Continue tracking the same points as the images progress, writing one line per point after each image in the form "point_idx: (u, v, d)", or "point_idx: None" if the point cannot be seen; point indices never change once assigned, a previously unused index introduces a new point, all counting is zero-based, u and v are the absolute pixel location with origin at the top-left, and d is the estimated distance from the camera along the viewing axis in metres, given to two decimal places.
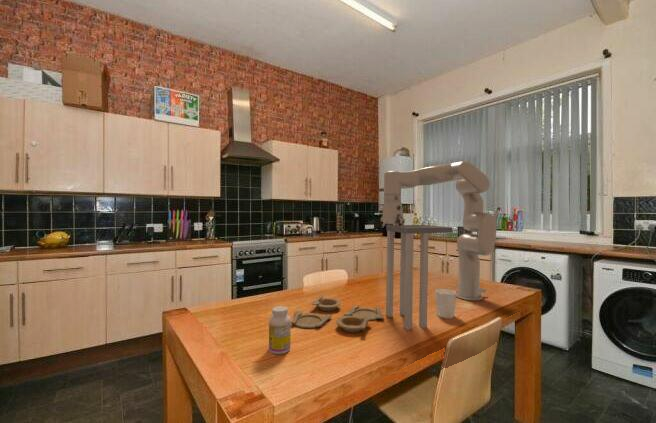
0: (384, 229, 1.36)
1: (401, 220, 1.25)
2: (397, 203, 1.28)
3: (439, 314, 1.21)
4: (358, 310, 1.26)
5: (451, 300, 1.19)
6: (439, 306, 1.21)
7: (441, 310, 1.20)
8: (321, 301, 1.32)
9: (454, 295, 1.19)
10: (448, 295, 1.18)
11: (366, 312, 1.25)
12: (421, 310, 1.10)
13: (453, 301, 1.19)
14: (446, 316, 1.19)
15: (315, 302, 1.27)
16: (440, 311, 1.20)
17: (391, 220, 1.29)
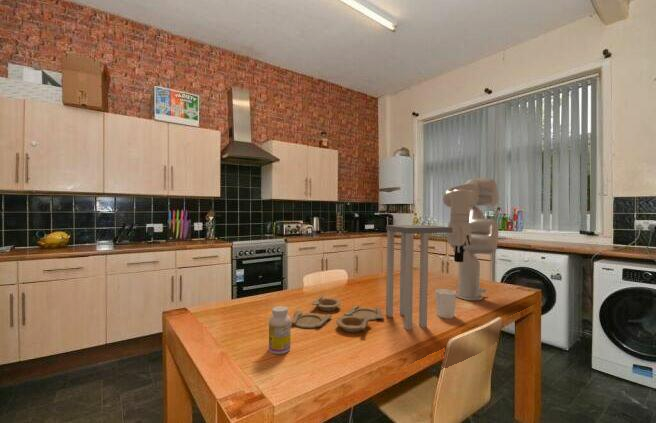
0: None
1: None
2: None
3: (439, 314, 1.21)
4: (358, 310, 1.26)
5: (451, 300, 1.19)
6: (439, 306, 1.21)
7: (441, 310, 1.20)
8: (321, 301, 1.32)
9: (454, 295, 1.19)
10: (448, 295, 1.18)
11: (366, 312, 1.25)
12: (421, 310, 1.10)
13: (453, 301, 1.19)
14: (446, 316, 1.19)
15: (315, 302, 1.27)
16: (440, 311, 1.20)
17: None
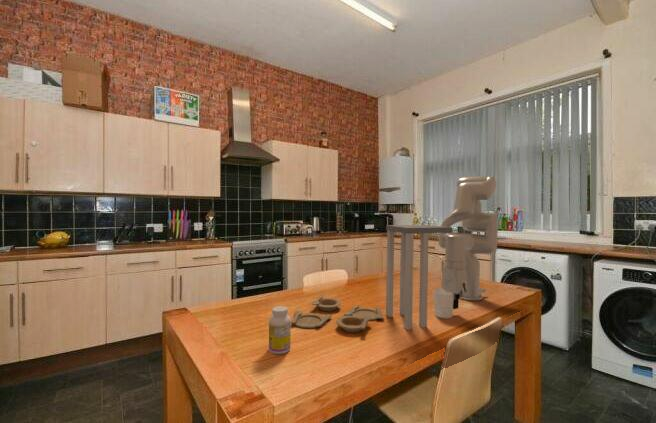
0: None
1: None
2: None
3: (437, 314, 1.21)
4: (358, 310, 1.26)
5: (449, 300, 1.18)
6: (437, 306, 1.20)
7: (439, 310, 1.20)
8: (321, 301, 1.32)
9: (452, 295, 1.19)
10: (446, 295, 1.18)
11: (366, 312, 1.25)
12: (421, 310, 1.10)
13: (451, 301, 1.19)
14: (444, 316, 1.19)
15: (315, 302, 1.27)
16: (438, 311, 1.20)
17: None
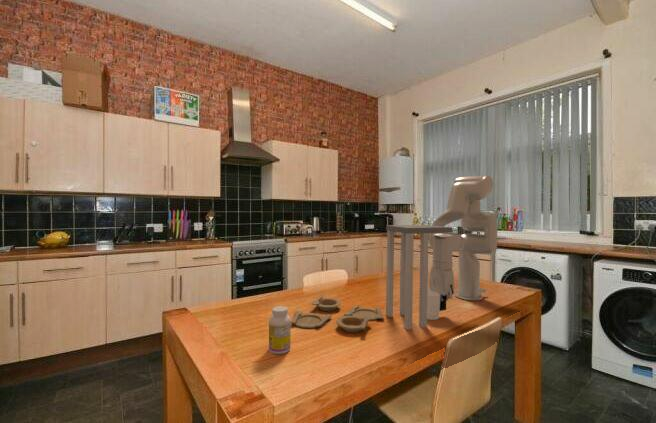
0: None
1: None
2: None
3: None
4: (358, 310, 1.26)
5: (434, 301, 1.17)
6: None
7: None
8: (321, 301, 1.32)
9: (438, 296, 1.17)
10: (431, 296, 1.16)
11: (366, 312, 1.25)
12: (421, 310, 1.10)
13: (437, 302, 1.17)
14: (429, 317, 1.17)
15: (315, 302, 1.27)
16: None
17: None
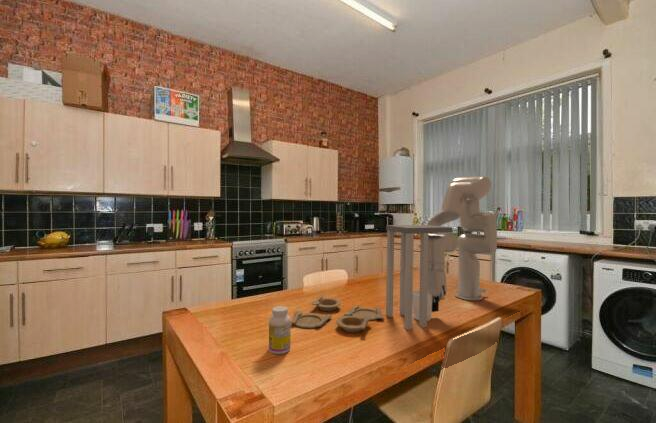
0: None
1: None
2: None
3: (415, 316, 1.18)
4: (358, 310, 1.26)
5: None
6: (415, 308, 1.18)
7: (416, 312, 1.17)
8: (321, 301, 1.32)
9: (430, 297, 1.16)
10: None
11: (366, 312, 1.25)
12: (421, 310, 1.10)
13: (428, 303, 1.16)
14: None
15: (315, 302, 1.27)
16: (416, 313, 1.18)
17: None
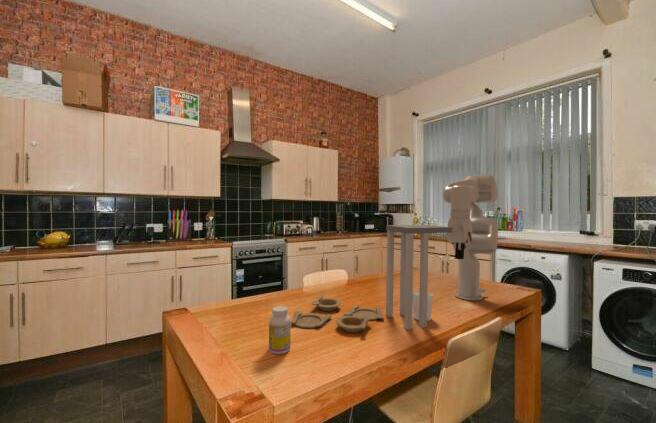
0: None
1: None
2: None
3: (415, 316, 1.18)
4: (358, 310, 1.26)
5: None
6: (415, 308, 1.18)
7: (416, 312, 1.17)
8: (321, 301, 1.32)
9: (430, 297, 1.16)
10: None
11: (366, 312, 1.25)
12: (421, 310, 1.10)
13: (429, 303, 1.16)
14: None
15: (315, 302, 1.27)
16: (416, 313, 1.18)
17: None
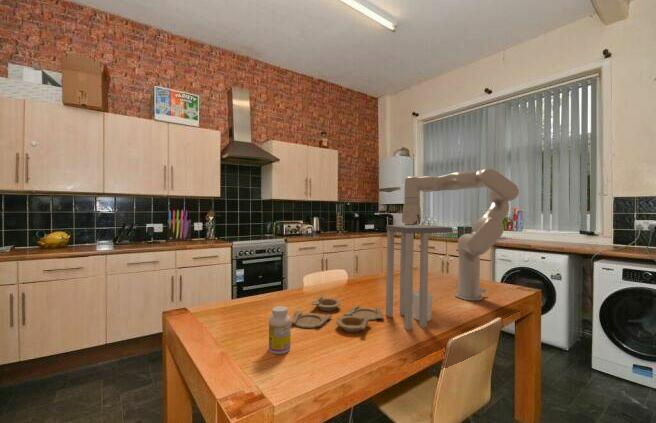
0: None
1: None
2: None
3: (415, 316, 1.18)
4: (358, 310, 1.26)
5: None
6: (415, 308, 1.18)
7: (416, 312, 1.17)
8: (321, 301, 1.32)
9: (430, 297, 1.16)
10: None
11: (366, 312, 1.25)
12: (421, 310, 1.10)
13: (429, 303, 1.16)
14: None
15: (315, 302, 1.27)
16: (416, 313, 1.18)
17: None
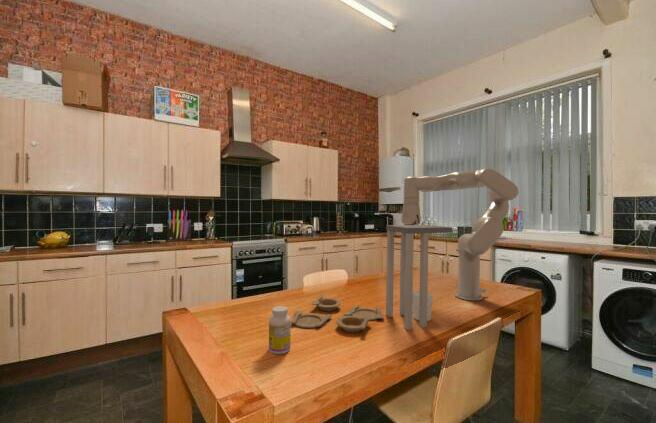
0: None
1: None
2: None
3: (415, 316, 1.18)
4: (358, 310, 1.26)
5: None
6: (415, 308, 1.18)
7: (416, 312, 1.17)
8: (321, 301, 1.32)
9: (430, 297, 1.16)
10: None
11: (366, 312, 1.25)
12: (421, 310, 1.10)
13: (429, 303, 1.16)
14: None
15: (315, 302, 1.27)
16: (416, 313, 1.18)
17: None
